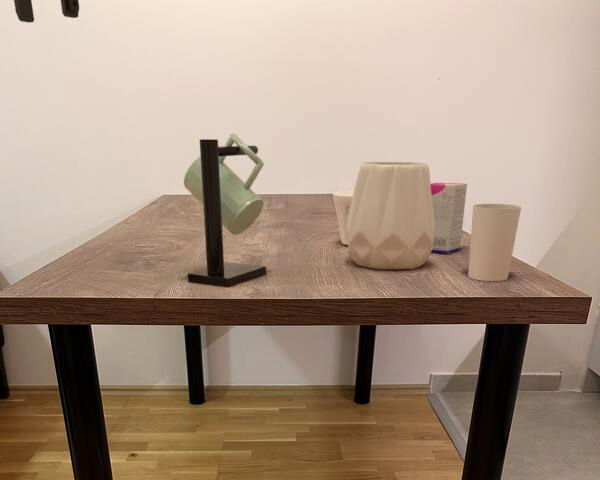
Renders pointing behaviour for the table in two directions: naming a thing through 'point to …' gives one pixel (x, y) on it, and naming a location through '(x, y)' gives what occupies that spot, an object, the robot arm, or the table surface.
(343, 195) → the cup
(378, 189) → the vase
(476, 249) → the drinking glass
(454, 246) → the supplement box
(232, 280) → the mug rack
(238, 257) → the table surface
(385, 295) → the table surface
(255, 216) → the mug
